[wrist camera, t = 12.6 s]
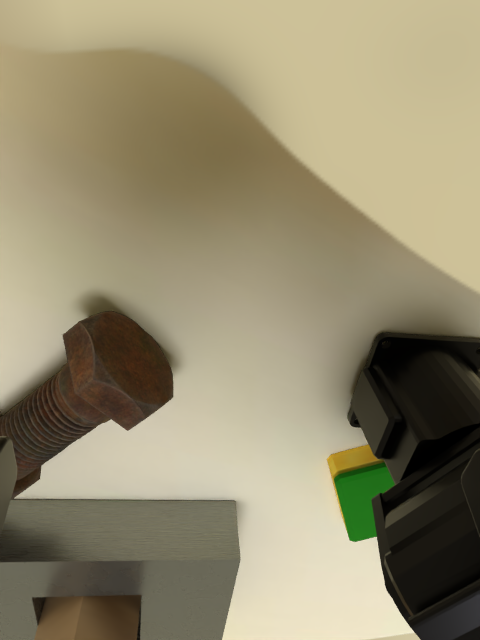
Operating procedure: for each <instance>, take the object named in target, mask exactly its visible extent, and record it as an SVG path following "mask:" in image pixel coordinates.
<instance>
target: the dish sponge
mask: <svg viewBox="0 0 480 640" xmlns="http://www.w3.org/2000/svg"><path fill="white" fill-rule="evenodd" d="M327 461H328V465H329V469H330V472H331V476H332V480H333V484H334V488H335V491H336V495H337V499H338V503H339V506H340V510H341V514H342V517H343V521H344V524H345V527H346V530H347V532H348V536H349V539H350V541H354V542H357V541H361V540H365V539H369V538H373V537H377V534H376V527H375V521H374V514H373V508H372V501H371V499H372V498H373V497H375V496H376V495H378V494H379V493H382V494H383V493H384V492H385V491H387V490H388V489H390V488H391V487H393V486H394V485H395V484H394V481H393V479H392V477H391V475H390V473H389V471H388V468H387V466H386V464H385V462H384V460H382V459H377V458H376V457H375V456H374V455H373V453H372V450H371V448H370V446H369V445H365V446H361V447H358V448H354V449H350V450H346V451H342V452H339V453H335V454H331V455H330V456H329V458H328V459H327Z"/></svg>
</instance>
